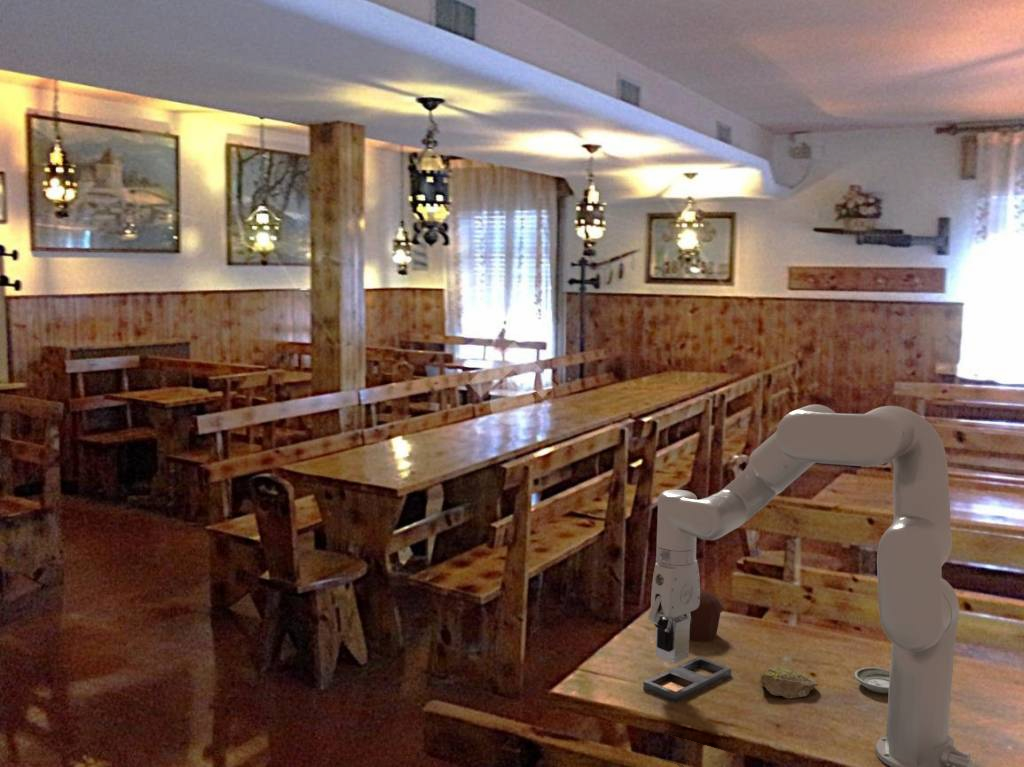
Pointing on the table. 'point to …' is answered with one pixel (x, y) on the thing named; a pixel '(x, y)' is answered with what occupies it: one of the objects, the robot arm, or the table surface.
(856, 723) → the table surface
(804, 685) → the rock
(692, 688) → the dark grey slotted tray
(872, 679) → the saucer
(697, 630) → the muffin
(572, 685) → the table surface
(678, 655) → the silver rectangular block
